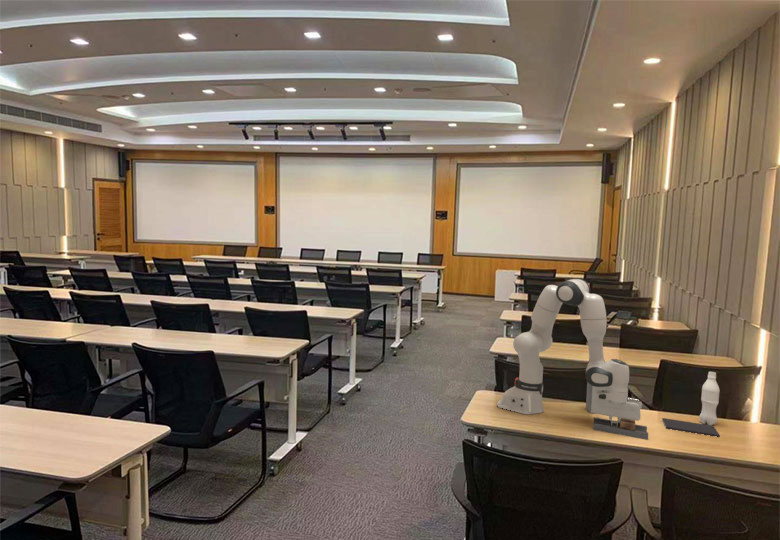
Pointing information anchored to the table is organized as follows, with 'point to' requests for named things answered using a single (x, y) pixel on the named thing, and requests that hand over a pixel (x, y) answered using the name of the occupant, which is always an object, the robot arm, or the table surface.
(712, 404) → the water bottle
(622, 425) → the walnut block
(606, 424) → the grey parallel rails
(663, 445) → the table surface
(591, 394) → the hard drive box
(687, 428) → the notebook
